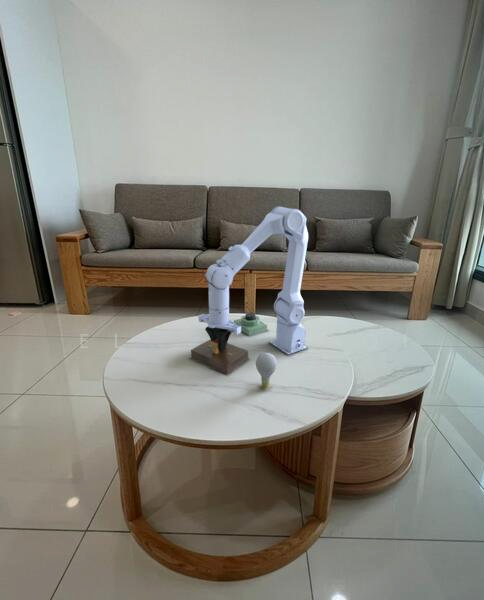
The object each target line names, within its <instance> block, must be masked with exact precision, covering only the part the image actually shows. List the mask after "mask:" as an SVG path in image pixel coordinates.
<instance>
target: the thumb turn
mask: <svg viewBox="0 0 484 600" xmlns="http://www.w3.org/2000/svg"><path fill="white" fill-rule="evenodd" d="M226 348H227V344H226ZM226 348H225V349H226ZM219 352H220V351H219V345H218V339H216V340H214V341H213V342H212V353H214V354H217V353H219Z"/></svg>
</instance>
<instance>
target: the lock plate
mask: <svg viewBox="0 0 484 600" xmlns="http://www.w3.org/2000/svg"><path fill="white" fill-rule="evenodd" d="M190 353H191V354H190V356H191V359H192V360H193V361H196V362H198V363H201V364H203V365H205V366H207V367H209V368H212V369H214V370H217V371H218V372H221V373H223V374H225V375H228V374H230V373H232V372H233V371H234V370H235V369H237V368H238V367H240V366H241V365H242V364H244V363H245V362H247V361H248V360H249V350H247V349H244V348H242V347H239V346H236V345H234V344H231V343H229V342H227V348H226V349H225V350H223V351H222V352H219V353H217V354H214V353H212V342H211V339H210V338H209V339H208V340H206V341H205V342H203V343H201V344H199V345H197V346H196V347H194V348H191V349H190Z"/></svg>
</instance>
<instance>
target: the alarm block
mask: <svg viewBox="0 0 484 600" xmlns="http://www.w3.org/2000/svg"><path fill="white" fill-rule="evenodd" d="M233 322H234V323H235V324H237V325H239V326H241V332H243V333H244V334H245V335H246V336H248V337H249V336H254V335H257V334H260V333H263V332H266V331H268V325H267V323H265V322H263V321H262V320H261V319H260V317H259V316H258V315H257V314H255V320H253V321H249V320H246V314H245V315H242V316H241V318H237V319H234V320H233Z"/></svg>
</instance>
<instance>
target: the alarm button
mask: <svg viewBox="0 0 484 600" xmlns="http://www.w3.org/2000/svg"><path fill="white" fill-rule="evenodd" d="M245 315H246V320H249V321H253V320H255V315H256V313H254V312H247V313H245Z"/></svg>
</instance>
